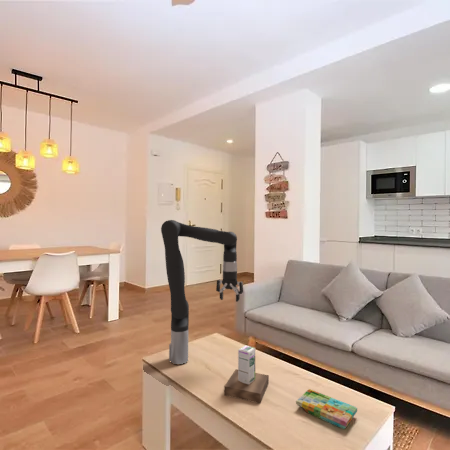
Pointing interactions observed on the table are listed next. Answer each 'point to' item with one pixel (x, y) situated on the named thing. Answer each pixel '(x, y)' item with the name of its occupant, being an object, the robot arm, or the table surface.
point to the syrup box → (246, 364)
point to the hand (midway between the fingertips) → (229, 300)
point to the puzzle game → (327, 408)
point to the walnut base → (247, 387)
